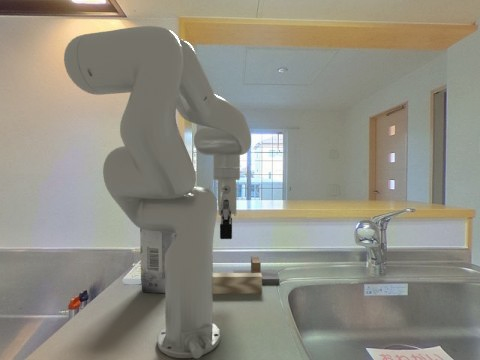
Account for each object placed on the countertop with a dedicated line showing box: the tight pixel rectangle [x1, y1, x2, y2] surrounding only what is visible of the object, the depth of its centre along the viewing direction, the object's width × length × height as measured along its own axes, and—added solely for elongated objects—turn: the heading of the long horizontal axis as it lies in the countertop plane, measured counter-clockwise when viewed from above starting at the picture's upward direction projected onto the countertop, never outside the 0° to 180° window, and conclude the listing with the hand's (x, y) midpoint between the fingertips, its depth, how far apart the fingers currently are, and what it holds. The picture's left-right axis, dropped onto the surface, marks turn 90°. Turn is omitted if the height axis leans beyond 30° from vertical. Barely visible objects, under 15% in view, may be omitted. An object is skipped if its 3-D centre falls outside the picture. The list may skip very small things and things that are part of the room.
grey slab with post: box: [232, 254, 281, 285], centre depth 94 cm, size 8×14×6 cm, turn 91°
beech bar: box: [213, 272, 263, 295], centre depth 85 cm, size 20×3×5 cm, turn 92°
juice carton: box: [139, 228, 177, 294], centre depth 87 cm, size 9×10×27 cm
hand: (226, 234), depth 84 cm, fingers open, 9 cm apart
